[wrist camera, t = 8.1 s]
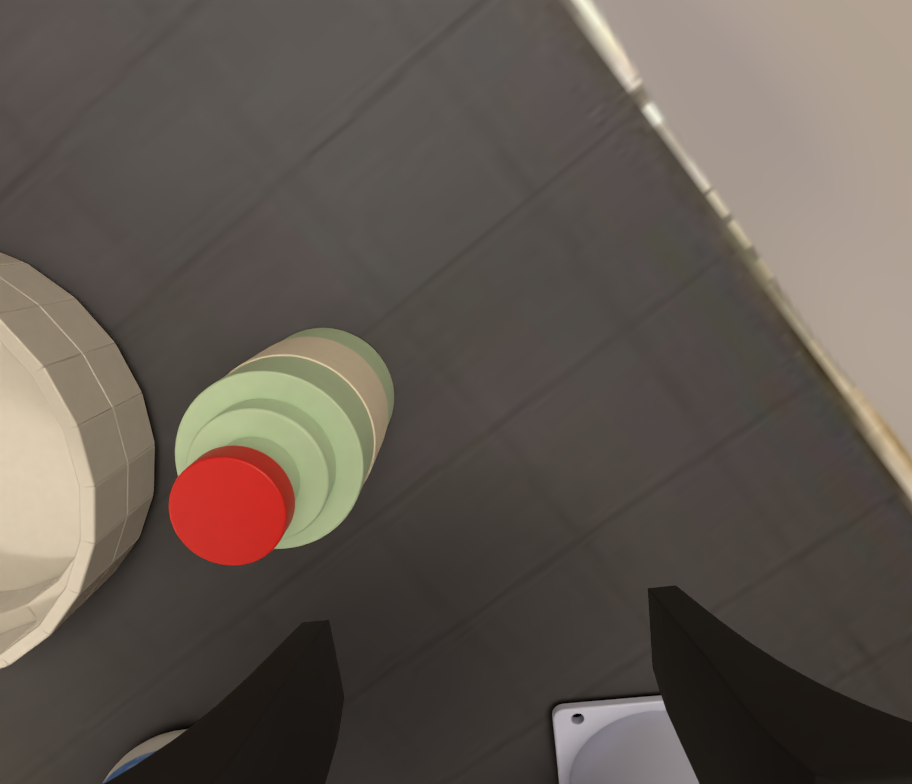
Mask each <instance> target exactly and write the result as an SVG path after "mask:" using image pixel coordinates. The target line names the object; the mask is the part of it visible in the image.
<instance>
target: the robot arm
mask: <svg viewBox="0 0 912 784" xmlns="http://www.w3.org/2000/svg"><path fill="white" fill-rule="evenodd" d="M648 598H649V614H650V631H651V647H652V663H653V670H654V674H655V677H656V680H657V683H658V687H659V690H660V693H661V695H658V696H646V697H634V698H622V699H611V700H599V701H587V702H576V703H564V704H560V705H558V706H556V707H555V708H554V709H553V712H552V719H553V729H554V738H555V748H556V758H557V768H558V778H559V784H912V722H909V721H906V720H904V719H901V718H898V717H895V716H893V715H890V714H887V713H885V712H882V711H880V710H877V709H875V708H872V707H869V706H867V705H865V704H862V703H860V702H858V701H856V700H853V699H851V698H849V697H847V696H844V695H842V694H840V693H838V692H836V691H833V690H831V689H829V688H827V687H825V686H823V685H821V684H819V683H817V682H815V681H813V680H812V679H810V678H808V677H806V676H804V675H802V674H801V673H799V672H797V671H795V670H793V669H792V668H790V667H788V666H786V665H785V664H783V663H781V662H780V661H778V660H776V659H775V658H773V657H772V656H770V655H768V654H767V653H765V652H764V651H762V650H761V649H759V648H758V647H756V646H755V645H753V644H752V643H750V642H749V641H747V640H746V639H744V638H743V637H742V636H740V635H739V634H737V633H736V632H735V631H733V630H732V629H730V628H729V627H728V626H726V625H725V624H724V623H722V622H721V621H720V620H718V619H717V618H716V617H715V616H713V615H712V614H711V613H709V612H708V611H707V610H706V609H704V608H703V607H702V606H701V605H699V604H698V603H697V602H696V601H694V600H693V599H692V598H691V597H689V596H688V595H687V594H686V593H685V592H683V591H682V590H681V589H680V588H678V587H677V586H667V587H657V588H648ZM343 701H344V693H343V688H342V683H341V678H340V673H339V668H338V663H337V658H336V653H335V648H334V643H333V638H332V633H331V628H330V623H329V620H324V621H314V622H304V623H302V624H301V625H300V626H299V627H297V628H296V629H295V630H294V631H293V632H292V633H291V634H290V635H289V636H288V637H287V638H286V639H285V640H284V641H283V643H282V644H281V645H280V646H279V647H278V648H277V649H276V650H275V651H274V652H273V653H272V654H271V655H270V656H269V657H268V658H267V659H266V660H265V661H264V662H263V663H262V664H261V665H260V666H259V667H258V668H257V669H256V670H255V671H254V672H253V673H252V674H251V675H250V676H249V677H248V678H247V679H246V680H244V681H243V682H242V683H241V684H240V685H239V686H238V687H237V688H236V689H235V690H233V691H232V692H231V693H230V694H229V695H228V696H227V697H226V698H225V699H224V700H222V701H221V702H220V703H219V704H218V705H217V706H216V707H215V708H213V709H212V710H211V711H210V712H209V713H207V714H206V715H205V716H204V717H203V718H201V719H200V720H199V721H198V722H196V723H195V724H194V725H192V726H191V727H190V728H188V729H187V730H186V731H184V732H183V733H182V734H181V735H179V736H178V737H176V738H175V739H174V740H172V741H171V742H169V743H168V744H166V745H165V746H163V747H162V748H160V749H159V750H157V751H156V752H154V753H153V754H151V755H150V756H148V757H147V758H145V759H144V760H142V761H141V762H139V763H138V764H136V765H135V766H133V767H132V768H130V769H128V770H127V771H125V772H123V773H122V774H120V775H118V776H116V777H115V778H113V779H111V780H110V781H108V782H106V783H104V784H325V782H326V779H327V775H328V772H329V768H330V765H331V761H332V758H333V754H334V751H335V747H336V743H337V740H338V734H339V728H340V722H341V715H342V708H343ZM574 714H581V716H579V717H573V715H574Z"/></svg>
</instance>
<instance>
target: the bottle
mask: <svg viewBox="0 0 912 784" xmlns="http://www.w3.org/2000/svg"><path fill="white" fill-rule="evenodd" d="M393 407H394V388H393V383H392V379H391V376H390V373H389V371H388V369H387V367H386V365H385V363H384V361H383V360H382V359H381V357H380V356H379V355H378V353H377V352H376V351H375V350H374V349H373V348H372V347H371V346H370V345H368V344H367V343H366V342H365V341H363V340H362V339H360V338H358V337H356V336H354V335H352V334H350V333H348V332H345V331H342V330H337V329H333V328H313V329H307V330H304V331H300V332H297V333H295V334H293V335H291V336H289V337H287V338H286V339H284V340H283V341H281V342H278V343H276V344H274V345H272V346H270V347H268V348H267V349H265V350H264V351H262V352H260V353H259V354H257V355H255V356H254V357H252V358H251V359H249V360H247V361H246V362H244V363H242V364H241V365H239V366H238V367H236V368H235V369H233V370H232V371H231V372H229V373H228V374H227V375H226V376H225V377H223V378H222V379H220V380H218V381H217V382H215V383H214V384H212V385H211V386H209V387H208V388H206V389H205V390H204V391H203V392H202V393H201V394H200V395H198V396H197V397H196V399H195V400H194V401H193V402H192V403H191V405H190V406H189V408H188V409H187V411H186V413H185V414H184V416H183V418H182V421H181V423H180V426H179V429H178V433H177V437H176V445H175V462H176V468H177V474H178V477H177V479H176V481H175V482H174V484H173V487H172V489H171V493H170V496H169V515H170V520H171V523H172V526H173V528H174V530H175V532H176V534H177V535H178V537H179V538H180V540H181V541H182V542H183V543H184V544H185V545H186V546H187V547H188V548H189V549H190V550H191V551H192V552H194V553H195V554H197V555H198V556H200V557H202V558H203V559H206V560H208V561H210V562H214V563H217V564H222V565H230V566H235V565H244V564H249V563H252V562H255V561H257V560H259V559H261V558H263V557H265V556H266V555H268V554H269V553H270V552H271V551H272V550H273V549H285V548H292V547H298V546H302V545H305V544H308V543H311V542H313V541H316V540H318V539H320V538H322V537H323V536H325V535H327V534H328V533H330V532H331V531H332V530H334V529H335V528H336V527H337V526H338V525H339V524H340V523H341V522H342V521H343V520H344V519H345V518H346V517H347V515H348V514H349V512H350V511H351V510H352V508H353V506H354V504H355V502H356V500H357V498H358V496H359V494H360V491H361V489H362V486H363V484H364V483H365V481H366V480H367V478H368V476H369V474H370V472H371V469H372V467H373V464H374V462H375V459H376V457H377V454H378V452H379V450H380V447H381V445H382V442H383V440H384V437H385V434H386V430H387V426H388V424H389V422H390V419H391V416H392V412H393Z"/></svg>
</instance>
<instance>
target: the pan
mask: <svg viewBox="0 0 912 784" xmlns="http://www.w3.org/2000/svg"><path fill="white" fill-rule="evenodd" d="M154 444H155V442H154V438H153V434H152V430H151V426H150V422H149V418H148V414H147V410H146V406H145V402H144V398H143V394H142V392H141V390H140V388H139V386H138V384H137V382H136V380H135V379H134V377H133V375H132V373H131V371H130V369H129V367H128V366H127V364H126V362H125V360H124V358H123V356H122V354H121V353H120V351H119V349H118V347H117V345H116V344H115V342H114V341H113V340H112V339H111V337H110V336H109V335H108V334H107V333H106V332H105V331H104V330H103V328H102V327H101V326H100V325H99V324H98V323H97V322H96V321H95V319H94V318H93V317H92V316H91V315H90V314H89V313H88V312H87V310H86V309H85V308H84V307H83V306H82V305H81V304H80V302H79V301H78V300H77V299H75V297H73V296H72V295H71V294H69V293H68V292H66V291H65V290H64V289H62V288H61V287H59V286H58V285H57V284H55V283H54V282H52V281H51V280H50V279H48V278H47V277H45V276H44V275H43V274H41V273H40V272H38V271H37V270H36V269H34V268H33V267H31V266H30V265H29V264H27V263H24V262H22V261H20V260H18V259H15V258H13V257H10V256H8V255H6V254H3V253H1V252H0V669H1V668H3V667H6V666H9V665H11V664H13V663H14V662H15V661H17V660H18V659H19V658H21V657H22V656H23V655H25V654H26V653H27V652H29V651H30V650H31V649H33V648H34V647H35V646H37V645H38V644H40V643H41V642H42V641H44V640H45V639H46V638H48V637H49V636H50V635H51V634H52V633H53V632H54V631H55V630H56V629H57V628H58V627H59V626H60V625H61V624H62V623H63V622H64V621H66V620H67V619H68V618H69V617H70V616H71V615H72V614H73V613H74V612H75V611H76V610H77V609H78V608H79V607H80V606H81V605H82V604H83V603H84V602H85V601H86V600H87V599H88V598H89V597H90V596H91V595H92V594H93V593H94V592H95V591H96V590H97V589H98V588H99V587H100V586H101V585H102V584H103V583H104V582H105V581H106V580H107V579H108V578H109V577H110V576H111V575H112V574H113V573H114V572H115V571H116V570H117V568H118V567H119V565H120V564H121V563H122V561H123V560H124V559H125V557H126V556H127V554H128V553H129V552H130V550H131V549H132V547H133V546H134V545H135V543H136V542H137V540H138V539H139V537H140V534H141V531H142V528H143V525H144V522H145V519H146V516H147V513H148V510H149V507H150V504H151V501H152V498H153V493H154V461H155V445H154Z"/></svg>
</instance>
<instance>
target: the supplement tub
mask: <svg viewBox="0 0 912 784" xmlns="http://www.w3.org/2000/svg"><path fill="white" fill-rule="evenodd" d="M186 730H187V729H183V730H176V731H171V732H168V733H164V734H161V735H158V736H156V737H153V738H151V739H149V740H147V741H145V742H143V743H142V744H140V745H138V746H137V747H135V748H134V749H132V750H131V751H130V752H128V753H127V754H126V755H125V756H124V757H123V758H122V759H121V760H120V761H119V762H118V763H117V764H116V765H115V766H114V768H113V769H112V770H111V771H110V772H109V774H108V775H107V777H106V779H105V780H104V782H103V783H102V784H104V783H106V782H108V781H110V780H111V779H113V778H115V777H116V776H118V775H120V774H122V773H123V772H125V771H127V770H128V769H130V768H132V767H133V766H135V765H136V764H138V763H139V762H141V761H142V760H144V759H145V758H147V757H148V756H150V755H151V754H153V753H154V752H156V751H157V750H159V749H160V748H162V747H163V746H165V745H166V744H168V743H169V742H171V741H172V740H174V739H175V738H176V737H178V736H179V735H181V734H182V733H183V732H184V731H186Z"/></svg>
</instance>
